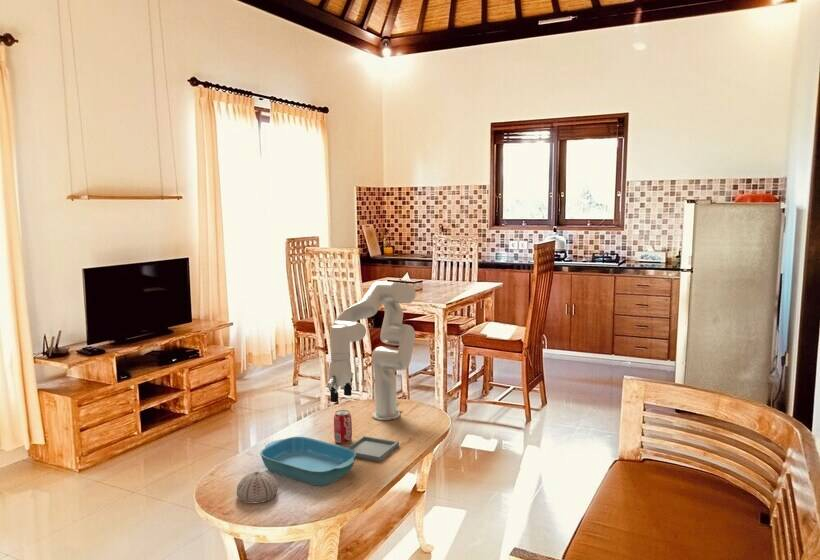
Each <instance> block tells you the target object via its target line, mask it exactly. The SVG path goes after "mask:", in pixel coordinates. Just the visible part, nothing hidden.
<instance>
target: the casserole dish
mask: <svg viewBox="0 0 820 560" xmlns="http://www.w3.org/2000/svg"><path fill="white" fill-rule="evenodd" d="M346 447H347V446H343V445H338V444H335V443H331V442H326V441H322V440H319V439H314V438H312V437H306V436H291V437H288V438H283V439H282V438H281V439H278V440H274V441H273V440H272V441H270V442H269V443H267V444H265V446H264V448H263V449H261V450H260V453H259V454H260V456H261V459H262V461H263V464H264V466H265V468H266V469H267V470H269V471H270V472H272V473H274V474H276V473H277V474H276V475H279V474H280V476H282V475H283V477H285V476H286V478H288V477H289V478H288V479H291V478H292V480H294V479H295V481H297V480H298V482H300V481H301V483H305V484H307V485H311V486H315V487H316V486H317V487H325V486H329V485H331V484H332V483H335V482H336V481H338V480H339V479H341V478H343V477H344V476H345V475H347V474H349V472H351V470H352V469H353V467H354V464H355V461H356V459H357V458H356V452H355V451H354V450H351V449H349V448H346Z"/></svg>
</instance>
